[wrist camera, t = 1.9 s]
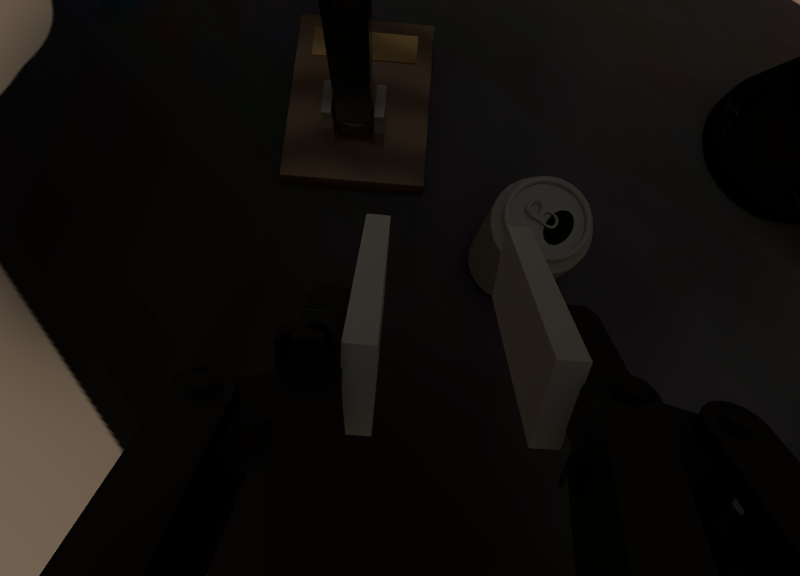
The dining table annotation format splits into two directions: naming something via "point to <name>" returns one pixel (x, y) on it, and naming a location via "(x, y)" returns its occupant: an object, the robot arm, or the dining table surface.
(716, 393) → the dining table surface
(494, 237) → the can
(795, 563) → the robot arm
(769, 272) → the dining table surface
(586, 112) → the dining table surface
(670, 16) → the dining table surface
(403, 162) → the press base
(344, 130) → the lever
